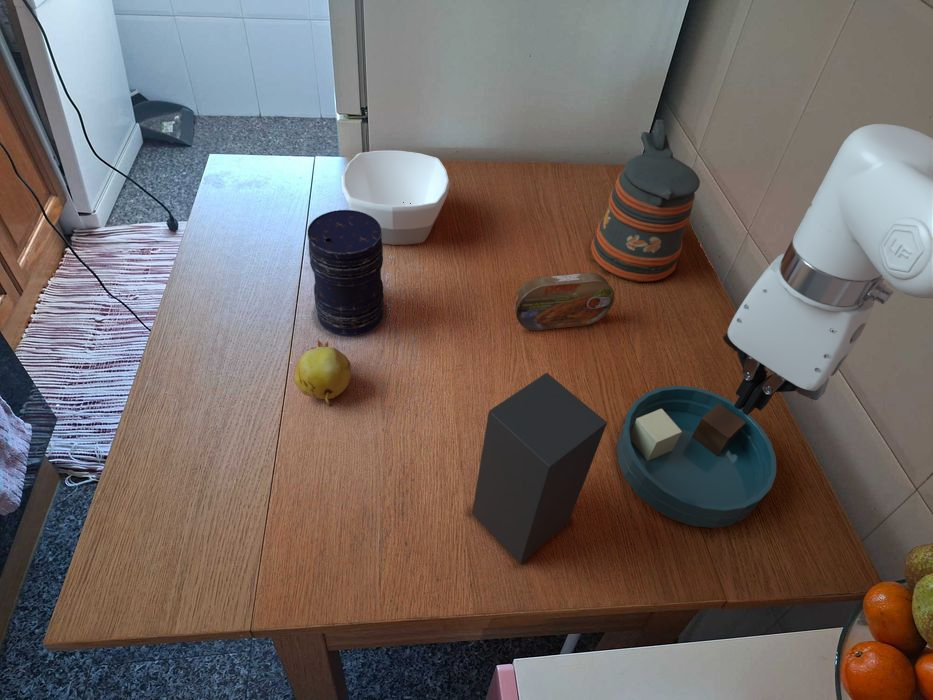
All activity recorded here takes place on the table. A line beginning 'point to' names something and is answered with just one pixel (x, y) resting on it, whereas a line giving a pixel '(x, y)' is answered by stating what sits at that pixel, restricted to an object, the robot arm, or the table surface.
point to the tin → (563, 301)
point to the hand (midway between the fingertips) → (747, 404)
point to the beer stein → (646, 213)
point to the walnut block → (718, 429)
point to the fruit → (322, 372)
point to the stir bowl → (698, 462)
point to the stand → (534, 464)
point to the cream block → (655, 434)
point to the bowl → (397, 192)
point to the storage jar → (347, 271)
